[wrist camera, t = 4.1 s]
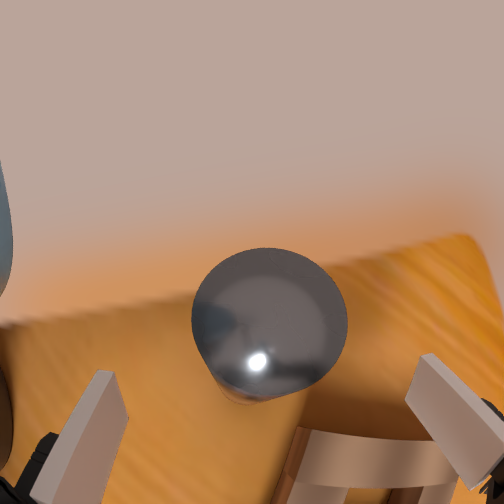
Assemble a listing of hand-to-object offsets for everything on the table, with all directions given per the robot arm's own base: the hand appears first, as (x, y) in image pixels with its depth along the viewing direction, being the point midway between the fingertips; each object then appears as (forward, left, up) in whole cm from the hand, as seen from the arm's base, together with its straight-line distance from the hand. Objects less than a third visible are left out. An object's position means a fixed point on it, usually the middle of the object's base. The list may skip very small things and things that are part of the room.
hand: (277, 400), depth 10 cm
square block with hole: (+10, -7, -9) cm, 15 cm away
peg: (-1, +2, -9) cm, 9 cm away
